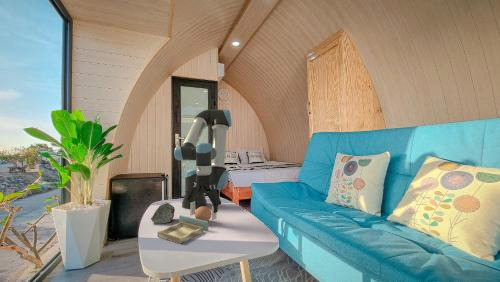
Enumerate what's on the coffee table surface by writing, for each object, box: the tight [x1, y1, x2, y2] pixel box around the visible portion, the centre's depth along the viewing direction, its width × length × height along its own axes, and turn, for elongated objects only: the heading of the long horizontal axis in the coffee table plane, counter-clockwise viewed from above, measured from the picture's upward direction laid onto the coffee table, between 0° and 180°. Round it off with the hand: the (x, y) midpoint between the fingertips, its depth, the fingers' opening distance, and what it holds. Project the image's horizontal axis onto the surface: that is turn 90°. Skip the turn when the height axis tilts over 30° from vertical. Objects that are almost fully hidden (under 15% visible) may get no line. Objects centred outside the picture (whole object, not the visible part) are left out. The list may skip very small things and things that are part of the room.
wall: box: [178, 214, 209, 232], centre depth 102 cm, size 1×17×4 cm, turn 62°
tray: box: [157, 222, 204, 245], centre depth 94 cm, size 13×13×2 cm
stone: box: [150, 202, 176, 224], centre depth 110 cm, size 10×10×10 cm
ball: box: [194, 205, 212, 222], centre depth 109 cm, size 8×8×8 cm
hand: (203, 216), depth 109 cm, fingers open, 13 cm apart
